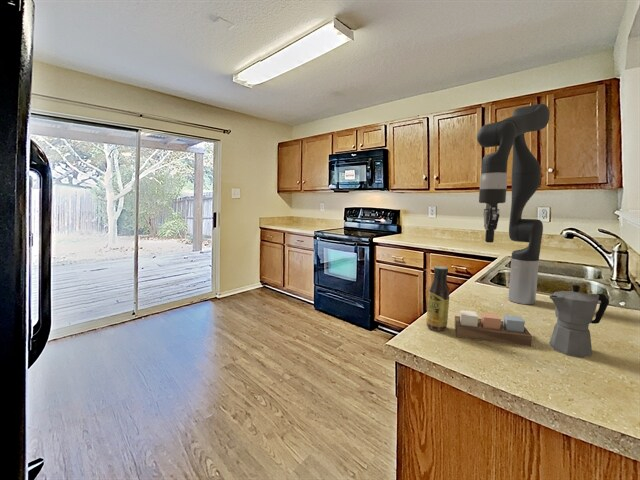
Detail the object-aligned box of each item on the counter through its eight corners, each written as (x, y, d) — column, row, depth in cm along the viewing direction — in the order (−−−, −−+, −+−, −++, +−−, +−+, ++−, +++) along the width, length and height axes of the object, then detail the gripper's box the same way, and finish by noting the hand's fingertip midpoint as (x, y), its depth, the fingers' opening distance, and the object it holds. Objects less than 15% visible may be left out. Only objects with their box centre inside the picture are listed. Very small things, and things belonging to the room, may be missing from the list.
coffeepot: (558, 357, 81) (564, 289, 79) (533, 341, 91) (539, 280, 88) (618, 358, 81) (626, 290, 79) (588, 342, 90) (594, 280, 88)
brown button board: (454, 324, 103) (454, 315, 103) (521, 332, 97) (522, 323, 96) (456, 337, 94) (457, 327, 93) (531, 346, 87) (532, 336, 87)
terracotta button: (480, 324, 98) (481, 312, 97) (496, 326, 96) (497, 314, 96) (483, 330, 94) (484, 317, 93) (499, 332, 92) (500, 319, 92)
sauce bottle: (422, 325, 102) (424, 265, 100) (437, 323, 104) (440, 264, 102) (436, 333, 96) (439, 269, 93) (452, 330, 98) (455, 268, 96)
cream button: (459, 322, 100) (460, 310, 99) (475, 324, 98) (476, 311, 98) (461, 327, 95) (461, 314, 95) (477, 329, 94) (478, 316, 94)
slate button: (502, 327, 96) (503, 314, 95) (519, 329, 94) (520, 316, 94) (506, 333, 92) (507, 319, 91) (523, 335, 90) (524, 321, 90)
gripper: (511, 187, 93) (507, 245, 95) (501, 188, 105) (498, 240, 107) (482, 187, 95) (479, 244, 97) (476, 189, 107) (473, 239, 110)
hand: (489, 242), depth 102 cm, fingers closed
